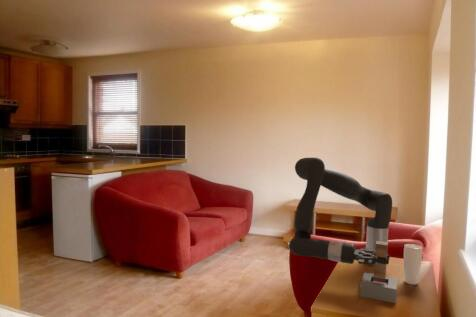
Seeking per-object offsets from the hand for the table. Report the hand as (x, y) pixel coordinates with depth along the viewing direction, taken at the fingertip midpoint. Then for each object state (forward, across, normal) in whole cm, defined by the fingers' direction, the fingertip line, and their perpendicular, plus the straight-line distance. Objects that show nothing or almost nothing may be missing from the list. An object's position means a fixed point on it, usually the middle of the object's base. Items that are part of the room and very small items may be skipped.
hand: (388, 259), depth 141 cm
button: (-3, 0, +11) cm, 12 cm away
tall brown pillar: (-3, 0, +8) cm, 9 cm away
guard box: (-3, 0, +13) cm, 14 cm away
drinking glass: (+8, +18, +14) cm, 24 cm away
